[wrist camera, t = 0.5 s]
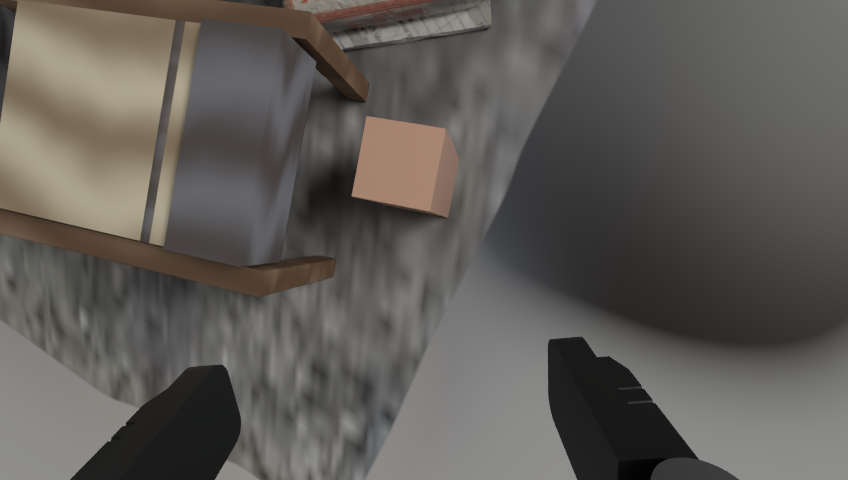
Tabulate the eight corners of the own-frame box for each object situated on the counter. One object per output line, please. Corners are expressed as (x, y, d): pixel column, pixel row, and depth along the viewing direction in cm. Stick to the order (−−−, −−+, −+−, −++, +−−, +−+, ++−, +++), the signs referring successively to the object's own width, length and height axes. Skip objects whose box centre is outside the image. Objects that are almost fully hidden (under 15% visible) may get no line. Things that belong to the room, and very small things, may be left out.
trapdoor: (76, 28, 29) (4, -7, 25) (316, 62, 26) (281, 28, 22) (49, 208, 30) (-25, 204, 26) (280, 261, 27) (239, 267, 23)
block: (402, 149, 34) (366, 116, 25) (459, 159, 34) (446, 128, 24) (391, 206, 35) (351, 196, 25) (447, 217, 34) (429, 211, 24)
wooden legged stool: (134, 49, 39) (-15, -27, 27) (369, 83, 35) (310, 11, 24) (106, 224, 40) (-49, 220, 28) (333, 276, 36) (259, 297, 24)
